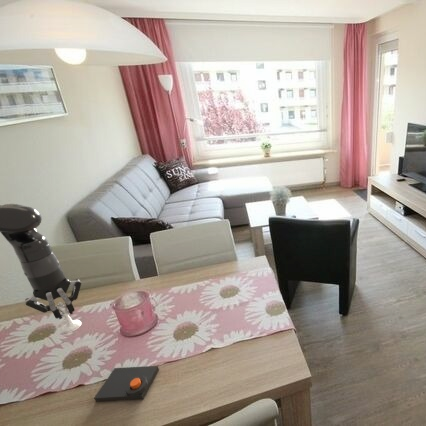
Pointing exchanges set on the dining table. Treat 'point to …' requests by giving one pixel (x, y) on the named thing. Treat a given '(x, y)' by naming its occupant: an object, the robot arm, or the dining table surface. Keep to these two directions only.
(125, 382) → the dark grey flat block
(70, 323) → the chess piece
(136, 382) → the button
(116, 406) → the dining table surface
